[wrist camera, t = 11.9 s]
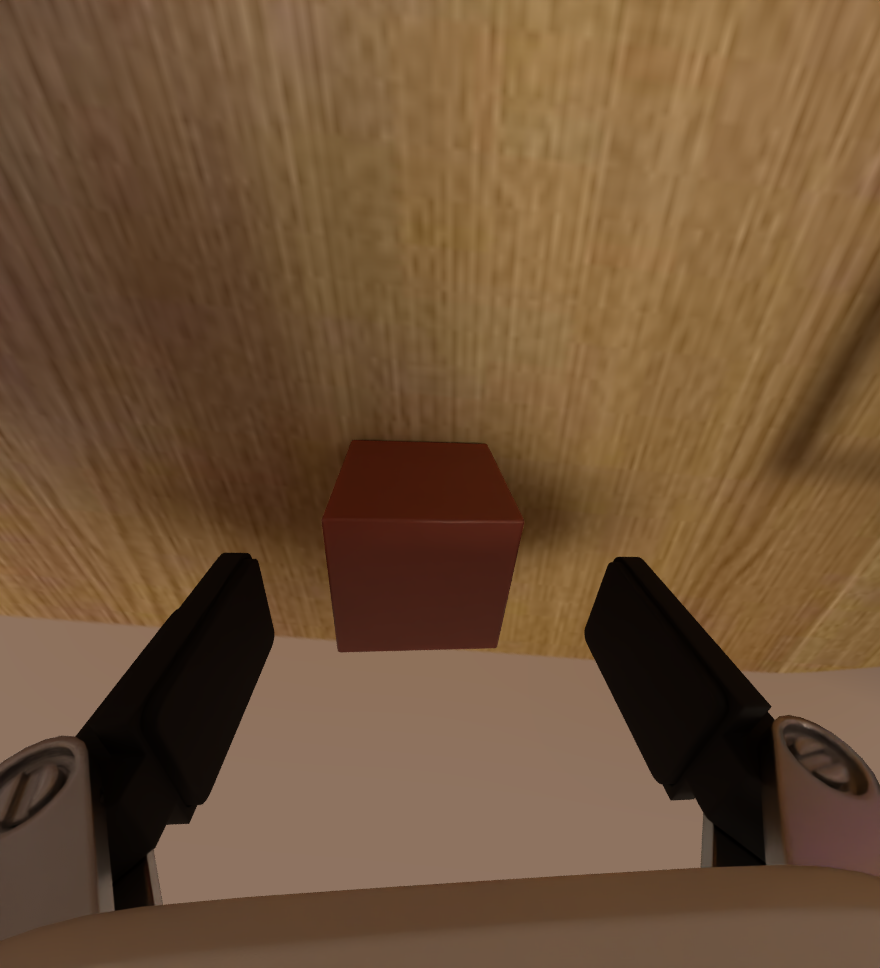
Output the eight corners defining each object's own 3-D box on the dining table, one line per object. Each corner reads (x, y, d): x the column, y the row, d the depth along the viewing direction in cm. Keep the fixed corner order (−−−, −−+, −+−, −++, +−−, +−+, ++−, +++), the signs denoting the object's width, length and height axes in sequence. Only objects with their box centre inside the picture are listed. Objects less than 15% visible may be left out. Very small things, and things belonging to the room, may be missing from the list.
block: (358, 547, 13) (337, 653, 9) (351, 439, 11) (320, 519, 7) (473, 547, 14) (497, 649, 10) (487, 443, 11) (526, 520, 8)
